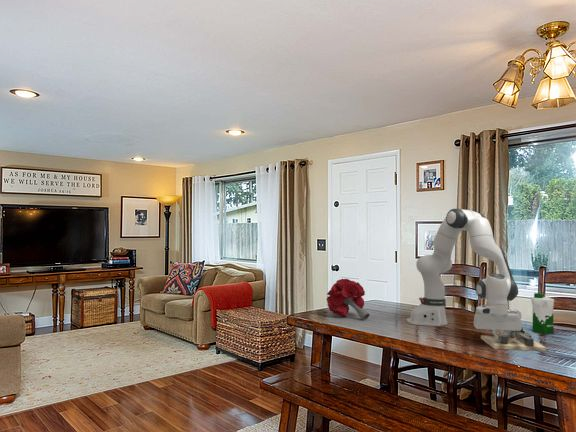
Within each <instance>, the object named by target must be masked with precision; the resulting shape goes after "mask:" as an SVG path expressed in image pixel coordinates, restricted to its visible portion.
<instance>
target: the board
mask: <svg viewBox="0 0 576 432" xmlns="http://www.w3.org/2000/svg"><path fill="white" fill-rule="evenodd" d="M480 339H481V340H482V341H483V342H484V343H486V344H487V345H489V346H490V347H491V348H493V349H494V350H495V349H496V350H497V349H498V350H511V351H512V350H515V351H533V352H534V351H538V352H539V351H540V352H547V351H548V349H547V347H546V345H545V346H544V345H542V344H541V343H540V342H538V341H536V340H534V346H527V345H525V344H524V343H522V342H521V341H519V340H517V339H516V337H515V338H511V339H510V340H509V341H508V343H507V344H505V343H501V340H495V339H494V335H480Z"/></svg>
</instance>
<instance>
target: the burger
mask: <svg viewBox="0 0 576 432" xmlns="http://www.w3.org/2000/svg"><path fill="white" fill-rule="evenodd" d="M516 332H521V333H523V334H525V335H526V336H528V337H530V338H532V334H530V333H528V332H526V331H525V330H524V327H523V326H522V329H521V331H515V337H516Z"/></svg>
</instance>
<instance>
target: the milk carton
mask: <svg viewBox="0 0 576 432" xmlns="http://www.w3.org/2000/svg"><path fill="white" fill-rule="evenodd" d="M533 294H534V295H533V297H532V296H531V298H530V300H531V304H532V305H531V306H532V327H531V328H532V330H531V332H533V333H535V334H536V333H537V334H540V333H541V334H542V335H551V334H554V333H555V332H554V331H555V327H554V304H555V299H554V298H550V297H544V294H543V293H538V292H537V293H536V292H534V293H533ZM541 334H540V335H541Z"/></svg>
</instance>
